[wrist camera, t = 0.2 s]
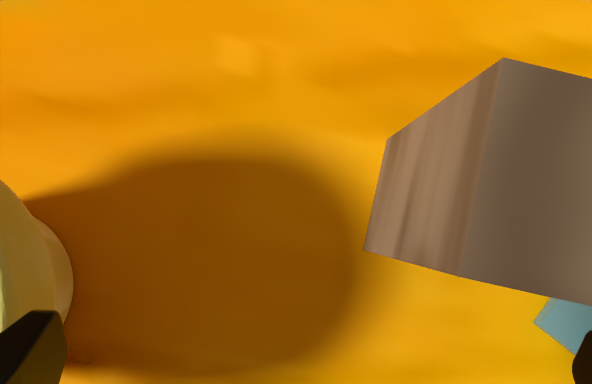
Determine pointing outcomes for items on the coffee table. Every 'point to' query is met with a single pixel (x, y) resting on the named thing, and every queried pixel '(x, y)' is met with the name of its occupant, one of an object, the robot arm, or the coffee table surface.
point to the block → (495, 184)
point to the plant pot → (30, 264)
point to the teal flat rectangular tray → (565, 322)
